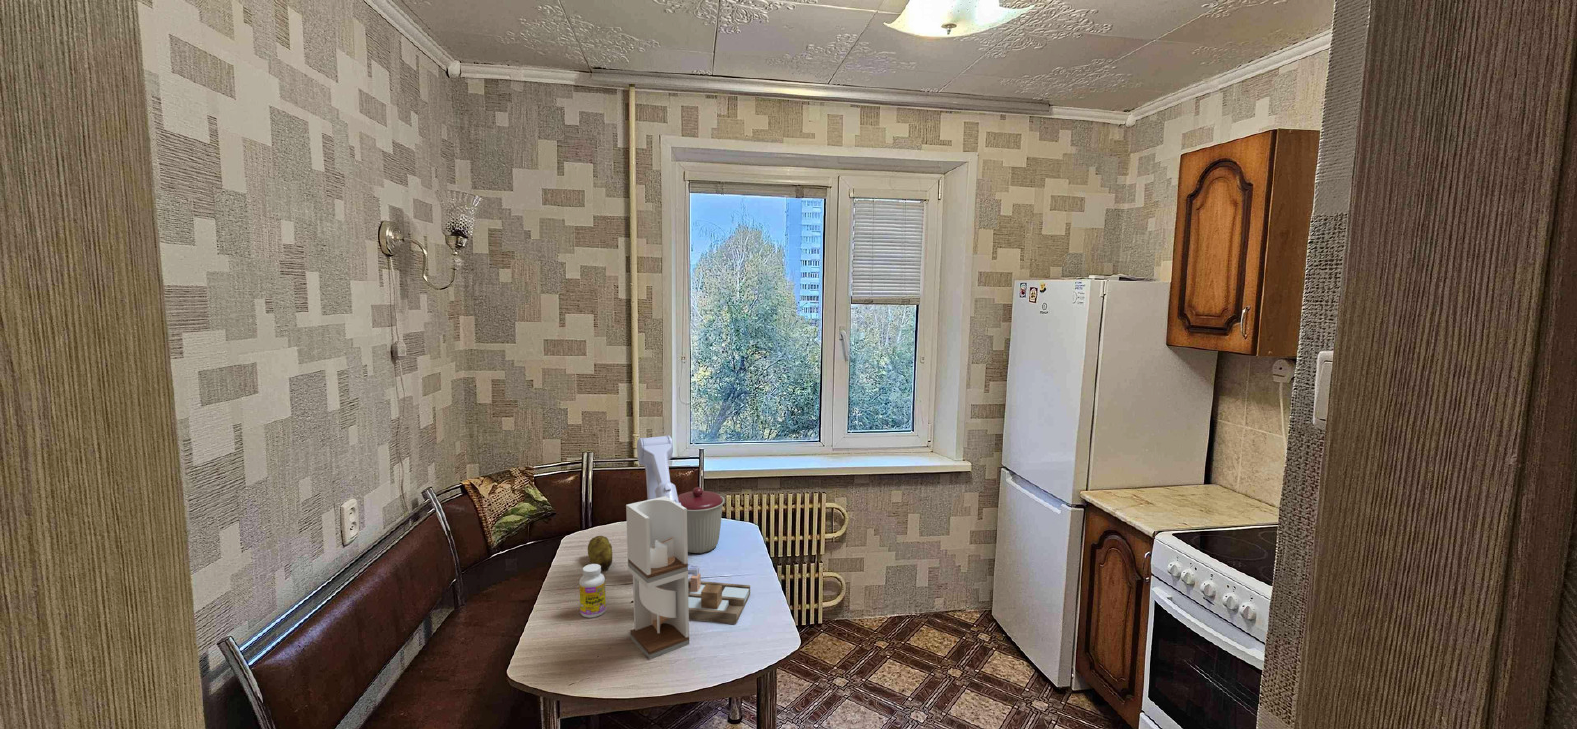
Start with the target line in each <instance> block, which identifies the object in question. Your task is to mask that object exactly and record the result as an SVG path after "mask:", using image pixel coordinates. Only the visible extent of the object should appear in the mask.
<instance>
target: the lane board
mask: <svg viewBox="0 0 1577 729" xmlns="http://www.w3.org/2000/svg"><path fill="white" fill-rule="evenodd" d="M706 584H711V585H722V592H723V590H724V588H725V587H734V588H745V589H749V595H748V597H747V599H746V601H745V603H744V598H737V597H726V596H722V600H728V601H729V605H728V607H727V609H726V611H721V610H710V609H699V608H689V621H690V620H692V621H702V622H711V623H722V624H732V625H733V624H735V625H737V623H738V622H739V619H740V617H741V615H742V613H743V611H744V609H745V606H746V604H747V603H748V600H749V599H750V596H751V585H749V584H738V583H726V582H714V581H705V580H704V581H703V580H701V585H706ZM690 592H691V581H690V579H688V597H694V598H701V594H692V593H690Z"/></svg>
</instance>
